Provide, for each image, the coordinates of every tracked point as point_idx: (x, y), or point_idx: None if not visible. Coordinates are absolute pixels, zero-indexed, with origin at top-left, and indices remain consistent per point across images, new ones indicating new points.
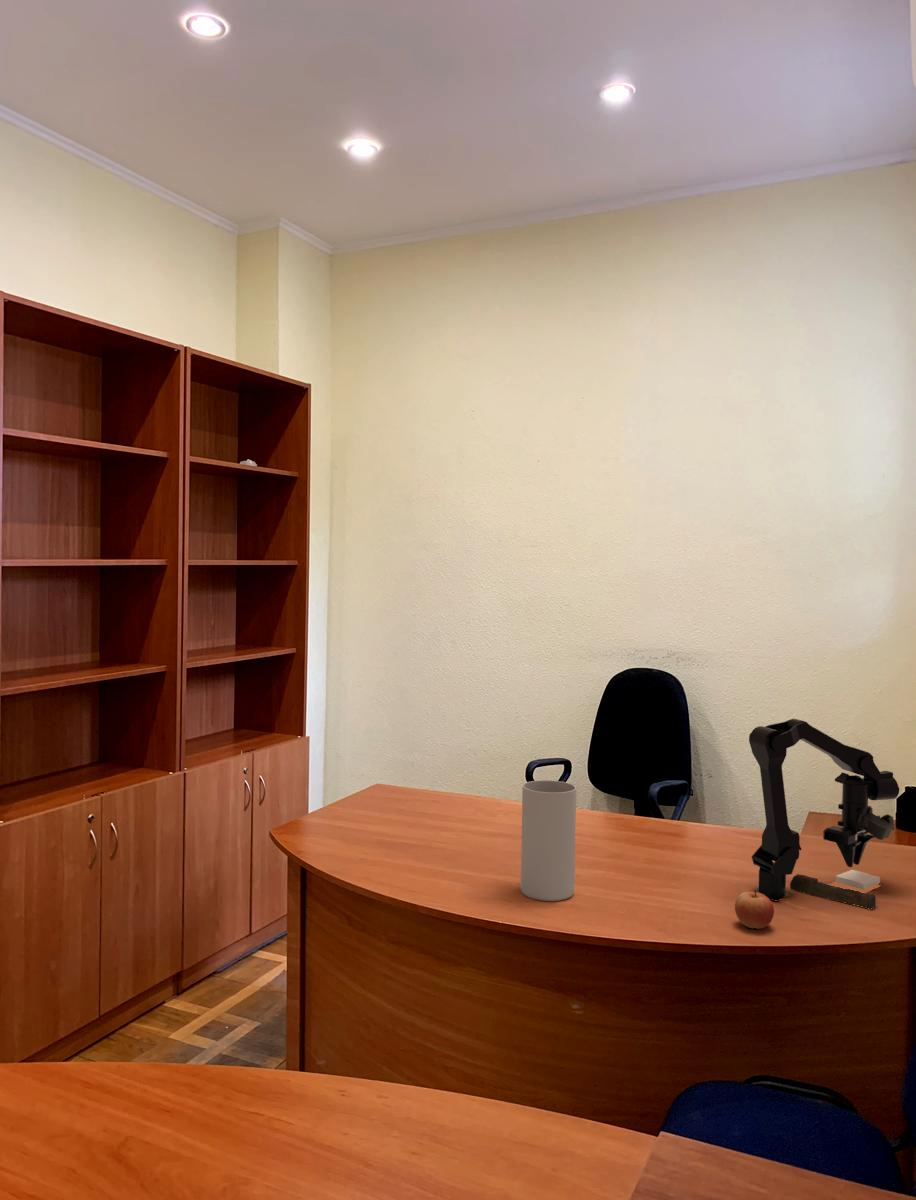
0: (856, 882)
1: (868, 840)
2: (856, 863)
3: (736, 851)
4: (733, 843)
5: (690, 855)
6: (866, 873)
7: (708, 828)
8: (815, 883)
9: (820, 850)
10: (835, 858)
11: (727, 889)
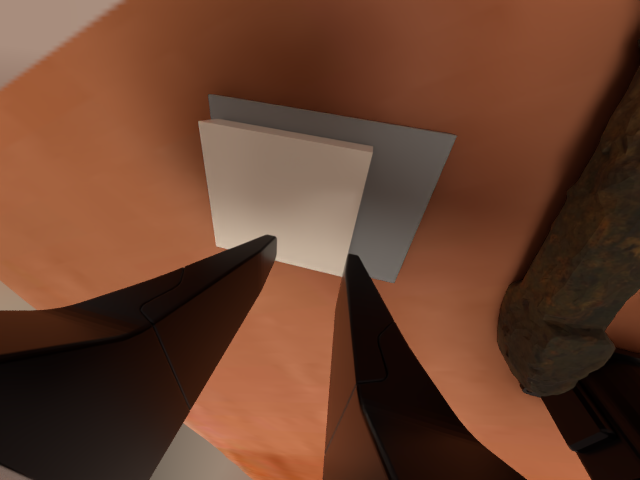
0: (362, 192)
1: (4, 355)
2: (274, 247)
3: (275, 416)
4: (239, 417)
5: None
6: (208, 190)
7: (209, 434)
8: (602, 330)
9: None
10: None
11: None
